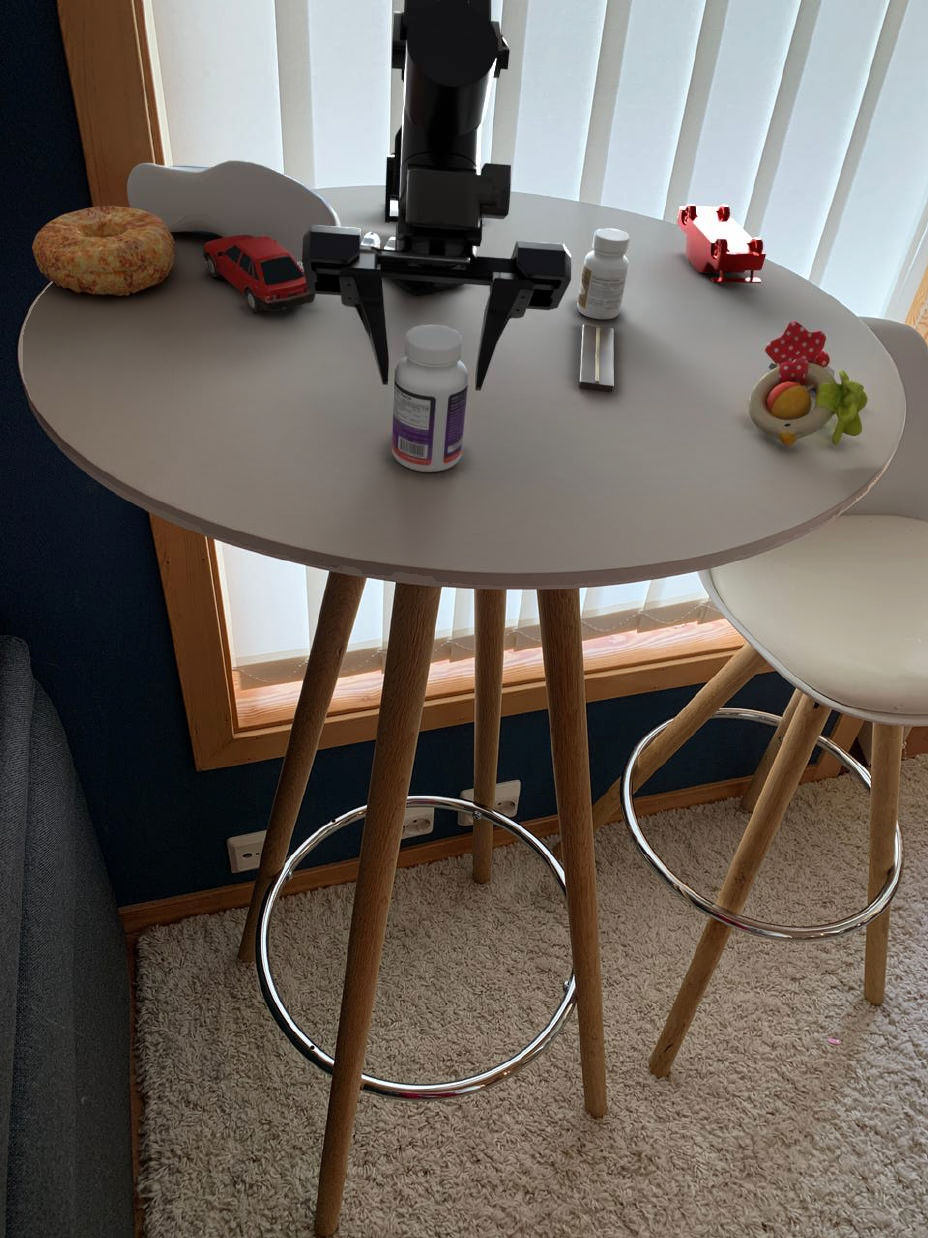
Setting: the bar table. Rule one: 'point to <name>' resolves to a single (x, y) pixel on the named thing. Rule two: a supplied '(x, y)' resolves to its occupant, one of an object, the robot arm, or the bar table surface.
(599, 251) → the pill bottle
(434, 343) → the pill bottle
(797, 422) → the bird rattle
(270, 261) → the toy car
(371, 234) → the toy vehicle set
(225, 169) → the shoe
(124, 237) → the bagel
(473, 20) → the robot arm
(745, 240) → the toy car
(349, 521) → the bar table surface
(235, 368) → the bar table surface
